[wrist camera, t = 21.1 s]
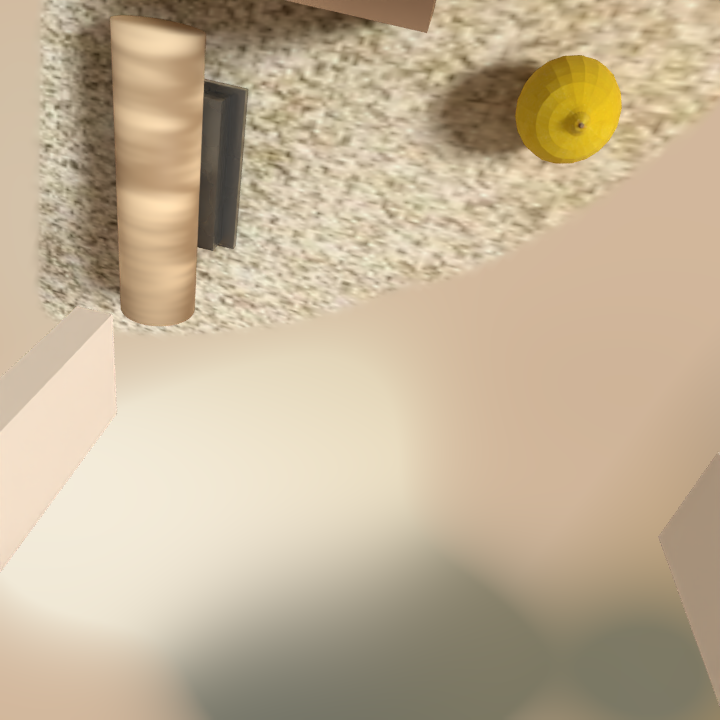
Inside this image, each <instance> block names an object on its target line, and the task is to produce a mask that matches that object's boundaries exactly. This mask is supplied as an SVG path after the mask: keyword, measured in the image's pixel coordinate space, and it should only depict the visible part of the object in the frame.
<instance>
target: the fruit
mask: <svg viewBox="0 0 720 720" xmlns="http://www.w3.org/2000/svg"><path fill="white" fill-rule="evenodd" d="M621 109H622V106H621V92H620V90H619V87H618V85H617V82H616V80H615V77H614V75H613V74H612V73H611V72H610V71H609V70H608V69H607V67H606V66H604V65H603V64H602V63H600V62H599V61H598V60H595V59H592V58H588V57H585V56H582V55H574V56H562V57H560V58H557V59H554V60H551V61H549V62H547V63H546V64H544V65H543V66H542V67H540V68H539V69H537V70H536V71H535V72H534V73H533V74H532V76H531V77H530V78H529V79H528V80H527V82H526V83H525V84H524V87H523V89H522V91H521V93H520V95H519V98H518V101H517V107H516V114H515V118H516V125H517V131H518V133H519V135H520V137H521V139H522V141H523V143H524V145H525V146H526V147H527V148H528V149H529V150H530V151H531V152H532V153H534V154H535V155H536V156H538V157H539V158H540V159H542V160H545V161H549V162H552V163H574V162H577V161H581V160H584V159H587V158H588V157H590V156H591V155H593V154H595V153H596V152H598V151H599V150H600V149H601V148H602V147H603V146H604V145H605V144H606V143H607V142H608V141H609V140H610V138H611V136H612V135H613V133H614V131H615V129H616V127H617V125H618V121H619V117H620V113H621Z"/></svg>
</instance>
